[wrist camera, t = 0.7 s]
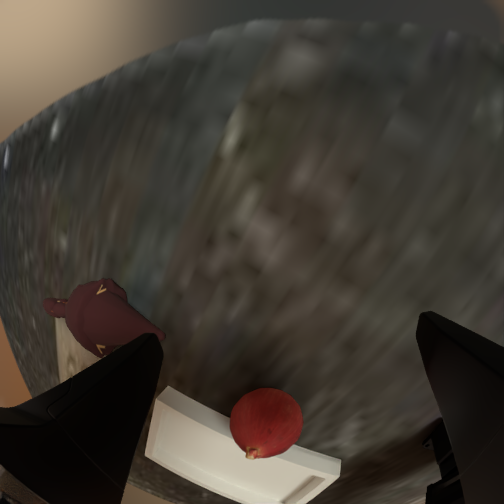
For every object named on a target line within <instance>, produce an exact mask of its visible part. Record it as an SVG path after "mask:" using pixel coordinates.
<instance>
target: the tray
mask: <svg viewBox="0 0 504 504" xmlns="http://www.w3.org/2000/svg"><path fill="white" fill-rule="evenodd" d="M229 426H230V418H229V417H227V416H224V415H222V414H220V413H218V412H216V411H214V410H212V409H210V408H208V407H206V406H204V405H202V404H201V403H199V402H197V401H195V400H193V399H191V398H189V397H188V396H186V395H184V394H182V393H180V392H179V391H177V390H175V389H173V388H172V387H170V386H167V387H166V388H165V389H164V391H163V392H162V393H161V394H160V395H159V396H158V397H157V398H156V401H155V405H154V410H153V415H152V420H151V425H150V430H149V435H148V440H147V445H146V450H145V456H146V457H148V458H150V459H151V460H153V461H155V462H156V463H158V464H160V465H161V466H163V467H165V468H167V469H169V470H170V471H172V472H174V473H176V474H178V475H180V476H182V477H184V478H185V479H187V480H189V481H191V482H193V483H196V484H198V485H200V486H202V487H204V488H206V489H208V490H211V491H213V492H215V493H217V494H220V495H222V496H225V497H227V498H230V499H232V500H235V501H237V502H240V503H242V504H306V503H307V502H308V501H310V500H311V499H313V498H314V497H315V496H316V495H318V494H319V493H320V492H322V491H323V490H324V489H325V488H327V487H328V486H329V485H330V484H332V483H333V482H334V481H335V480H336V479H338V478H339V477H340V469H341V459H337V458H334V457H331V456H327V455H324V454H321V453H318V452H314V451H311V450H308V449H305V448H302V447H299V446H297V445H294V444H293V445H292V446H291V447H290V448H289V449H288V450H287V451H286V452H284V453H282V454H279V455H276V456H273V457H270V458H259V459H254V460H251V459H247V458H246V457H245V456H246V453H245V452H244V451H242V450H241V449H240V448H239V446H238V445H237V444H236V443H235V441H234V439H233V436H232V434H231V431H230V427H229Z"/></svg>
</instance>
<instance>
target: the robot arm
mask: <svg viewBox="0 0 504 504" xmlns="http://www.w3.org/2000/svg"><path fill="white" fill-rule="evenodd" d="M416 340H417V343H418V346H419V350H420V353H421V356H422V360H423V364H424V367H425V371H426V374H427V377H428V380H429V382H430V385H431V387H432V390H433V393H434V395H435V398H436V401H437V404H438V406H439V409H440V412H441V415H442V418H443V422H442V423H441V424H440V425H439V426H438V428H437V429H436V430H435V431H434V432H433V433H432V434H431V435H430V436H429V437H428V438H427V439H426V440H425V441H424V442H423V444H422V445H423V448H424V449H429V450H434V453H435V457H436V462H437V464H438V465H439V468H440V473H441V478H442V479H441V480H439V481H438V482H436V483H434V484H430V485H428V486H427V493H426V502H425V504H504V347H502V346H500V345H498V344H496V343H494V342H493V341H491V340H489V339H487V338H485V337H483V336H481V335H479V334H477V333H475V332H473V331H471V330H469V329H467V328H465V327H463V326H461V325H459V324H457V323H455V322H453V321H451V320H449V319H447V318H445V317H443V316H441V315H439V314H437V313H435V312H433V311H427V312H422V313H421V314H420V316H419V320H418V325H417V330H416ZM162 361H163V350H162V347H161V344H160V342H159V339H158V336H157V335H156V334H155V333H143V334H142V335H140V336H138V337H137V338H135V339H133V340H132V341H130V342H129V343H127V344H125V345H124V346H122V347H120V348H119V349H117V350H116V351H114V352H112V353H111V354H109V355H107V356H106V357H104V358H102V359H101V360H99V361H97V362H96V363H94V364H93V365H91V366H89V367H88V368H86V369H84V370H83V371H81V372H79V373H78V374H76V375H74V376H73V377H72V378H69V379H68V380H66V381H64V382H63V383H61V384H59V385H57V386H56V387H54V388H52V389H50V390H48V391H46V392H44V393H42V394H40V395H38V396H36V397H34V398H32V399H30V400H28V401H26V402H24V403H22V404H20V405H17V406H15V407H10V408H3V407H0V504H121V500H122V497H123V493H124V489H125V486H126V482H127V479H128V476H129V472H130V469H131V466H132V462H133V459H134V456H135V453H136V449H137V446H138V443H139V440H140V437H141V434H142V431H143V428H144V424H145V421H146V418H147V415H148V412H149V409H150V406H151V404H152V401H153V398H154V395H155V391H156V387H157V383H158V378H159V374H160V369H161V365H162Z"/></svg>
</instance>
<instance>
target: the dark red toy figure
mask: <svg viewBox="0 0 504 504" xmlns="http://www.w3.org/2000/svg"><path fill="white" fill-rule="evenodd" d="M43 307H44V309H45V311H46V312H47V314H49V315H51V316H53V317H56V318H60V317H62V318H65V320H66V324H67V327H68V328H69V330H70V331H71V333H72V334H73V336H74V337H75V339H76V340H77V341H78V342H79V343H80V344H81V345H82V346H83V347H84V348H85V349H87V350H89V351H90V352H92V353H93V354H94V355H96V356H97V357H99V358H103V356H104V355H109V354H110V353H111V352H112V350H113V349H114V348H115V347H116V346H118V345H125V344H127V343H129V342H130V341H132V340H133V339H135V338H137V337H138V336H140V335H142V334H143V333H155V334H156V335H157V336H158V339H159V341H161V340H164V339H165V336H166V335H165V333H163V332H162V331H161V330H160V329H159V328H157V327H156V326H155V325H153V324H152V323H151V322H150V321H148V320H147V319H146V318H145V317H143V316H142V315H141V314H140V313H139V312H137V311H136V310H135V309H134V308H133V307H132V306H130V305H129V304H128V303H127V296H126V292H125V291H124V289H123V288H121V287H120V286H118V285H117V284H116V283H115V282H114V281H113V280H112V279H110V278H109V279H104V278H103V279H101V280H99V281H91V282H89V283H87V284H84V285H78V286H77V288H76V289H74V290H73V292H72V294H71V296H70V297H69V299H68V301H67V300H66V299H56V298H46V299H45V300H44V301H43Z"/></svg>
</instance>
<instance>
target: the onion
mask: <svg viewBox="0 0 504 504" xmlns="http://www.w3.org/2000/svg"><path fill="white" fill-rule="evenodd" d="M302 426H303V416H302V412H301V409H300V406H299V405H298V404H297V402H296V401H295V400H294V399H293V397H292V396H291V395H289V394H287V393H286V392H284V391H282V390H278V389H274V388H259V389H256V390H254V391H252V392H249V393H247V394H245V395H244V396H243V397H242V398H241V399H240V400H239V401H238V402H237V403H236V404H235V405H234V407H233V409H232V412H231V417H230V426H229V427H230V431H231V434H232V436H233V439H234V441H235V443H236V444H237V445H238V446H239V448H240V449H241V450H242V451H244V452H245V453H246V456H245V457H246V458H247V459H251V460H254V459H259V458H270V457H273V456H276V455H279V454H282V453H284V452H286V451H287V450H288V449H289V448H290V447H291V446H292V445H293V444H294V443H295V442H296V441H297V440H298V439H299V437H300V434H301V430H302Z"/></svg>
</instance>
